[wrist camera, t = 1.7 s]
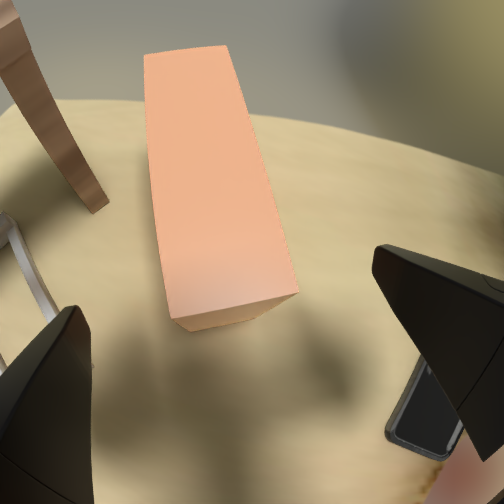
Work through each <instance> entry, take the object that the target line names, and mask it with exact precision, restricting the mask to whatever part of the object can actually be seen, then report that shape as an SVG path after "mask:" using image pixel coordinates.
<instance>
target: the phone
mask: <svg viewBox="0 0 504 504" xmlns="http://www.w3.org/2000/svg"><path fill="white" fill-rule="evenodd" d="M463 430H464V426H463V424H462V422H461V421H460V419H459V417H458V415H457V413H456V411H455V410H454V408H453V406H452V404H451V403H450V401H449V399H448V397H447V396H446V394H445V392H444V391H443V389H442V387H441V386H440V384H439V382H438V381H437V379H436V377H435V376H434V374H433V372H432V371H431V369H430V367H429V366H428V364H427V363H426V361H425V360H424V358H423V356H422V355H420V358H419V360H418V362H417V365H416V367H415V369H414V371H413V373H412V376H411V378H410V380H409V382H408V384H407V386H406V388H405V390H404V392H403V394H402V396H401V398H400V400H399V402H398V404H397V406H396V408H395V410H394V412H393V413H392V415H391V417H390V419H389V421H388V423H387V425H386V427H385V436H386V438H387V440H389V441H390V442H392V443H395V444H397V445H399V446H402V447H404V448H406V449H409V450H411V451H414V452H416V453H419V454H421V455H424V456H426V457H429V458H431V459H434V460H437V461H444V460H446V459H447V458H448V457H449V456H450V455H451V453H452V452H453V450H454V448H455V446H456V444H457V442H458V440H459V438H460V436H461V434H462V432H463Z"/></svg>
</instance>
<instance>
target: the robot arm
mask: <svg viewBox="0 0 504 504" xmlns="http://www.w3.org/2000/svg"><path fill="white" fill-rule="evenodd" d="M372 274H373V277H374V278H375V280H376V282H377V284H378V285H379V287H380V289H381V291H382V293H383V294H384V296H385V298H386V300H387V302H388V303H389V305H390V307H391V309H392V310H393V312H394V314H395V315H396V317H397V318H398V320H399V321H400V323H401V324H402V326H403V327H404V329H405V330H406V332H407V333H408V335H409V336H410V338H411V339H412V341H413V342H414V344H415V345H416V347H417V349H418V350H419V352H420V353H421V355H422V356H423V358H424V360H425V361H426V363H427V364H428V366H429V367H430V369H431V371H432V372H433V374H434V376H435V377H436V379H437V381H438V382H439V384H440V386H441V387H442V389H443V391H444V392H445V394H446V396H447V397H448V399H449V401H450V403H451V404H452V406H453V408H454V410H455V411H456V413H457V415H458V417H459V419H460V421H461V422H462V424H463V426H464V428H465V430H466V432H467V433H468V435H469V437H470V439H471V441H472V443H473V445H474V447H475V449H476V451H477V452H478V455H479V456H480V458H481V460H482V461H483V462H484V461H485V460H487V459H488V458H489V457H490V456H491V455H492V454H494V453H495V452H496V451H497V450H498V449H499V448H500V447H502V445H504V281H502V280H499V279H496V278H493V277H490V276H487V275H484V274H480V273H478V272H475V271H472V270H469V269H466V268H463V267H460V266H457V265H454V264H451V263H447V262H444V261H441V260H438V259H435V258H432V257H428V256H425V255H422V254H419V253H416V252H412V251H409V250H406V249H402V248H399V247H396V246H392V245H389V244H384V245H380V246H377V247H376V248H375V251H374V257H373V263H372ZM91 392H92V366H91V332H90V328H89V326H88V323H87V321H86V319H85V317H84V315H83V313H82V311H81V309H80V307H79V306H77V305H73V306H67V307H65V308H64V309H63V310H62V311H61V312H60V313H59V314H58V315H57V316H56V317H55V318H54V319H53V320H52V321H51V322H50V323H49V324H48V325H47V326H46V327H45V328H44V329H43V330H42V331H41V332H40V333H39V334H38V335H37V336H36V337H35V338H34V339H33V340H32V341H31V342H30V343H29V345H28V346H27V347H26V348H25V349H24V350H23V351H22V352H21V353H20V354H19V355H18V356H17V358H16V359H15V360H14V361H13V362H12V363H11V364H10V365H9V366H8V368H7V369H6V370H5V371H4V372H3V373H2V374H1V376H0V504H94V495H93V482H92V466H91ZM487 504H504V489H503V490H502V491H500V492H499V493H498V494H497V495H496V496H495V497H494V498H493V499H492V500H491V501H490V502H488V503H487Z"/></svg>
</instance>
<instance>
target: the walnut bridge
mask: <svg viewBox="0 0 504 504" xmlns="http://www.w3.org/2000/svg"><path fill="white" fill-rule="evenodd" d="M0 77H1V79H2V80H3V82H4V84H5V86H6V87H7V89H8V91H9V93H10V94H11V96H12V97H13V99H14V101H15V103H16V104H17V106H18V108H19V109H20V111H21V113H22V114H23V116H24V117H25V119H26V121H27V122H28V124H29V125H30V127H31V129H32V130H33V132H34V133H35V135H36V136H37V138H38V139H39V141H40V142H41V144H42V145H43V147H44V148H45V150H46V151H47V153H48V154H49V156H50V157H51V158H52V160H53V161H54V163H55V164H56V166H57V167H58V168H59V170H60V171H61V173H62V174H63V175H64V177H65V178H66V179H67V181H68V182H69V184H70V185H71V186H72V188H73V189H74V190H75V192H76V193H77V194H78V196H79V197H80V198H81V200H82V201H83V202H84V204H85V205H86V206H87V207H88V209H89V210H90V211H91V213H92V214H94V213H95V212H96V211H98V210H99V209H100V208H102V207H103V206H105V205H106V204H107V203H109V202H110V201H109V199H108V198H107V196H106V195H105V193H104V191H103V190H102V188H101V186H100V184H99V183H98V181H97V179H96V178H95V176H94V174H93V172H92V171H91V169H90V167H89V165H88V164H87V162H86V160H85V158H84V157H83V155H82V153H81V151H80V149H79V147H78V146H77V144H76V142H75V140H74V138H73V136H72V134H71V133H70V131H69V129H68V127H67V125H66V123H65V121H64V119H63V117H62V115H61V113H60V111H59V109H58V107H57V105H56V103H55V101H54V99H53V97H52V95H51V93H50V91H49V88H48V87H47V84H46V82H45V80H44V78H43V75H42V74H41V71H40V69H39V66H38V64H37V62H36V60H35V57H34V55H33V53H32V50H31V46H30V43H29V41H28V38H27V36H26V34H25V31H24V28H23V25H22V23H21V20H20V18H19V15H18V13H17V11H16V9H15V7H14V5H13V3H12V1H11V0H0ZM9 241H10V244H11V246H12V249H13V251H14V254H15V256H16V258H17V261H18V263H19V265H20V268H21V270H22V272H23V274H24V277H25V279H26V281H27V283H28V285H29V287H30V289H31V291H32V293H33V295H34V297H35V299H36V301H37V303H38V305H39V307H40V309H41V311H42V313H43V315H44V317H45V318H46V320H47V322H48V324H49V323H50V322H51V321H52V320H53V319H54V318H55V317H56V316H57V315H58V314H59V313H60V312H59V310H58V308H57V306H56V305H55V303H54V301H53V299H52V297H51V295H50V294H49V292H48V290H47V288H46V286H45V284H44V282H43V280H42V278H41V276H40V274H39V272H38V270H37V268H36V266H35V264H34V262H33V259H32V257H31V255H30V253H29V251H28V248H27V246H26V244H25V242H24V239H23V237H22V235H21V232H20V230H19V227H18V225H17V222H16V221H15V220H14V219H12V218H11V217H10V216H9V215H7V214H6V213H5V212H4V211H3V212H2V213H1V214H0V249H1V248H2V247H3V246H4V245H5V244H7V243H8V242H9ZM91 366H92V368H93V367H94V366H93V364H92V363H91ZM6 369H7V366H6V364H5V362H4V360H3V358H2V356H1V354H0V376H1V374H2V373H3V372H4V371H5V370H6Z"/></svg>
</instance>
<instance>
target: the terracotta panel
mask: <svg viewBox="0 0 504 504" xmlns="http://www.w3.org/2000/svg"><path fill="white" fill-rule="evenodd" d="M144 89H145V115H146V132H147V147H148V160H149V171H150V182H151V191H152V200H153V209H154V217H155V225H156V233H157V240H158V247H159V254H160V260H161V266H162V273H163V279H164V285H165V290H166V296H167V301H168V307H169V312H170V317H171V319H172V320H173V321H175V322H176V323H177V324H179V325H180V326H182V327H183V328H185V329H186V330H188V331H189V332H193V331H198V330H203V329H208V328H213V327H218V326H223V325H228V324H233V323H237V322H242V321H246V320H251V319H255V318H256V317H258V316H260V315H261V314H263V313H265V312H267V311H268V310H270V309H272V308H273V307H275V306H277V305H279V304H280V303H282V302H284V301H285V300H287V299H289V298H290V297H292V296H294V295H295V294H297V293H299V289H298V285H297V281H296V277H295V274H294V270H293V266H292V262H291V259H290V255H289V251H288V247H287V244H286V240H285V236H284V233H283V229H282V226H281V222H280V218H279V215H278V211H277V208H276V204H275V201H274V197H273V194H272V190H271V187H270V183H269V180H268V177H267V173H266V170H265V166H264V163H263V160H262V156H261V153H260V150H259V146H258V143H257V140H256V136H255V133H254V130H253V127H252V123H251V120H250V117H249V114H248V111H247V107H246V104H245V101H244V98H243V95H242V92H241V89H240V85H239V83H238V79H237V76H236V73H235V70H234V67H233V64H232V61H231V58H230V55H229V52H228V49H227V46H226V45H223V46H210V47H199V48H189V49H181V50H173V51H166V52H160V53H153V54H147V55H144Z"/></svg>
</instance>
